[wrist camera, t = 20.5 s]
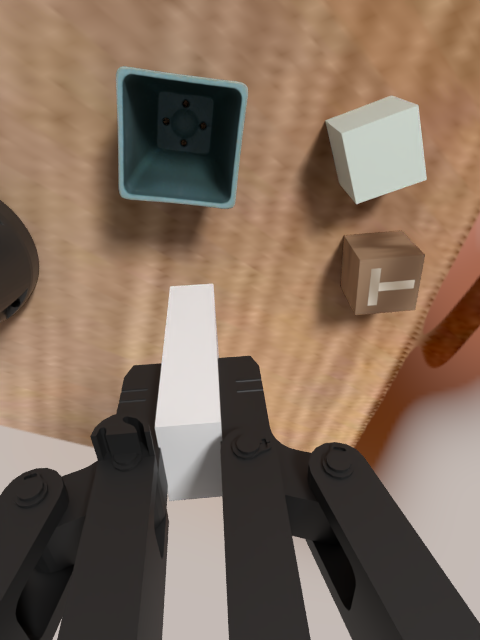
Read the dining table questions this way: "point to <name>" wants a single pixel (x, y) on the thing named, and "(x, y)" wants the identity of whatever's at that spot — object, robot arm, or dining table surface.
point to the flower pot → (179, 137)
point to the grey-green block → (377, 148)
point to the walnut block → (381, 272)
